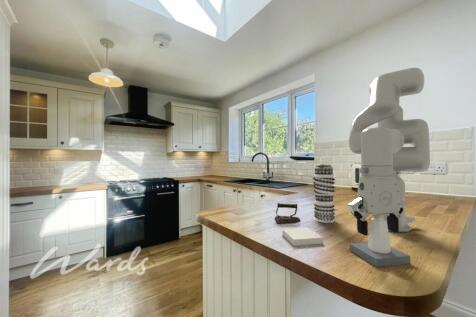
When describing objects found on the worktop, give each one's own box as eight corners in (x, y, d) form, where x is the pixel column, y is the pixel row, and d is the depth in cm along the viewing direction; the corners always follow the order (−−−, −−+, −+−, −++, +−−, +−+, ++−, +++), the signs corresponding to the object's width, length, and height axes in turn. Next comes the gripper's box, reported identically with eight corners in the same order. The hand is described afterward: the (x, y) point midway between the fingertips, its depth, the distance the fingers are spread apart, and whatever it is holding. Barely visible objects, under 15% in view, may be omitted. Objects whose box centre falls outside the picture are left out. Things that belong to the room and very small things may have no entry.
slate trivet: (378, 247, 65) (378, 241, 65) (410, 263, 55) (410, 255, 55) (349, 250, 63) (349, 243, 63) (376, 267, 54) (376, 259, 54)
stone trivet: (308, 233, 78) (308, 227, 78) (323, 243, 69) (323, 237, 69) (282, 234, 77) (282, 229, 77) (293, 246, 67) (293, 239, 67)
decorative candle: (318, 223, 90) (317, 164, 90) (310, 217, 99) (309, 164, 99) (339, 223, 90) (338, 164, 90) (329, 217, 99) (329, 163, 99)
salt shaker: (395, 252, 57) (395, 211, 57) (381, 255, 56) (380, 213, 56) (376, 244, 62) (376, 207, 63) (363, 247, 61) (362, 208, 61)
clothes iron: (272, 220, 97) (277, 198, 98) (296, 226, 97) (300, 204, 98) (275, 223, 90) (280, 200, 91) (301, 229, 90) (305, 206, 91)
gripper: (358, 174, 54) (360, 240, 55) (416, 171, 57) (417, 234, 57) (340, 172, 62) (341, 230, 62) (391, 169, 65) (392, 225, 65)
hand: (377, 232), depth 60 cm, fingers open, 9 cm apart
